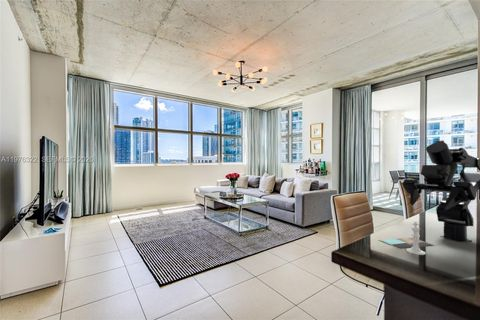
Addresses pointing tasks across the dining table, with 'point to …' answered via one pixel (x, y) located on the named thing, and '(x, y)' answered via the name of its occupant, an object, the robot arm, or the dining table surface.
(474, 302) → the dining table surface
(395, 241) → the pad
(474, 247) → the dining table surface
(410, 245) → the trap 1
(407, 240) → the walnut board
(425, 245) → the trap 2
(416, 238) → the chess piece
